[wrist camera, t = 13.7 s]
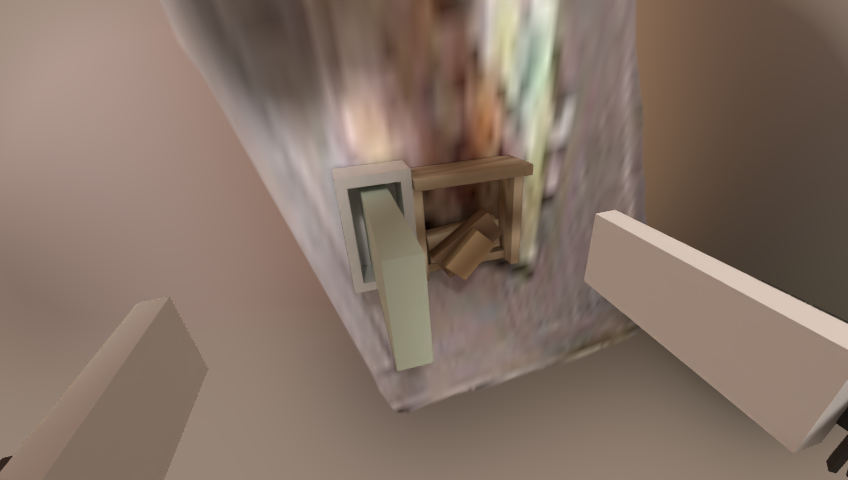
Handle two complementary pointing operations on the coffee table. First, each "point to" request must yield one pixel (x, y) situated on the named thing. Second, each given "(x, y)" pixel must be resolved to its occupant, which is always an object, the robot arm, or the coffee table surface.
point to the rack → (469, 173)
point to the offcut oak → (468, 253)
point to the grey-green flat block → (398, 277)
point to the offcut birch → (442, 232)
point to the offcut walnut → (478, 221)
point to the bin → (351, 212)
